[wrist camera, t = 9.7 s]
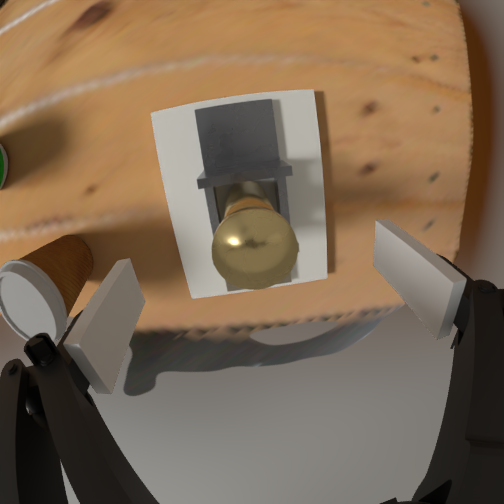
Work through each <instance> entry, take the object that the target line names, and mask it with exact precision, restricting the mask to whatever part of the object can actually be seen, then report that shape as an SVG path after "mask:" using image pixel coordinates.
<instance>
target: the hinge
mask: <svg viewBox="0 0 504 504" xmlns="http://www.w3.org/2000/svg"><path fill="white" fill-rule="evenodd" d="M194 111H195V117H196V124H197V130H198V136H199V142H200V148H201V154H202V160H203V166H204V170H203V172H202V173H201V174H200V176H199V177H198V178H197V179H196V180H197V185H198V189H203V188H204V191H205V196H206V202H207V207H208V212H209V218H210V223H211V228H212V233H213V237H214V234H215V232H216V229H217V227H218V226H219V224H220V223H221V217H220V211H219V205H218V200H217V194H216V188H215V186H221V185H227V184H234V183H240V182H247V181H254V180H261V179H268V178H274V186H275V194H276V203H277V212H278V213H279V214H280V215H281V216H283V217H284V218H285V219H286V220H287V221H288V223H289V224H290V214H289V204H288V194H287V185H286V176H293V173H292V165H290V164H288V163H286V162H285V161H283V160H281V159H280V158H279V150H278V142H277V134H276V127H275V119H274V112H273V105H272V99H263V100H254V101H246V102H238V103H231V104H224V105H218V106H212V107H207V108H201V109H196V110H194ZM290 226H291V225H290ZM297 242H298V241H297ZM298 252H299V243H298ZM213 265H214V263H213ZM225 282H226V287H227V291H228V292H229V291H236V290H243V288H239V287H237V286H234V285H232V284H230V283H229V282H227V281H226V280H225ZM288 282H292V279H291V272H290V273H289V274H288V275H287V276H286V277H285V278H284V279H283V280H282V281H280V282H279V283H277V284H282V283H288ZM275 285H276V284H275Z"/></svg>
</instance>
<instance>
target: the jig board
mask: <svg viewBox="0 0 504 504" xmlns="http://www.w3.org/2000/svg"><path fill="white" fill-rule="evenodd" d="M263 99H272V105H273V112H274V119H275V127H276V134H277V142H278V150H279V158H280V159H281V160H283V161H285V162H286V163H288V164H290V165H292V173H293V176H286V185H287V194H288V204H289V214H290V225H291V227H292V229H293V231H294V233H295V235H296V238H297V241H298V243H299V252H298V256H297V260H296V263H295V265H294V267H293V269H292V270H291V279H292V282H288V283H282V284H276V285H273V286H271V287H268V288H272V287H278V286H284V285H290V284H296V283H302V282H308V281H314V280H320V279H325V278H327V239H326V215H325V197H324V182H323V169H322V158H321V147H320V137H319V128H318V120H317V111H316V104H315V96H314V89H310V90H289V91H275V92H264V93H255V94H246V95H238V96H231V97H224V98H218V99H212V100H206V101H201V102H196V103H191V104H186V105H181V106H177V107H172V108H168V109H164V110H160V111H156V112H152V113H151V118H152V124H153V131H154V136H155V142H156V148H157V153H158V159H159V164H160V169H161V174H162V179H163V184H164V189H165V194H166V198H167V203H168V207H169V212H170V216H171V221H172V225H173V229H174V233H175V237H176V241H177V245H178V249H179V253H180V257H181V261H182V265H183V269H184V272H185V276H186V280H187V283H188V287H189V290H190V294H191V297H192V299H195V298H202V297H210V296H217V295H224V294H231V293H238V292H245V291H252V290H248V289H243V290H236V291H229V292H228V291H227V287H226V282H225V279H224V278H223V277H222V276H221V275H220V274H219V273H218V271H217V270H216V268H215V266H214V265H213V260H212V242H213V233H212V228H211V223H210V218H209V212H208V207H207V202H206V196H205V191H204V188H203V189H198V185H197V180H196V179H197V178H198V177H199V176H200V174H201V173H202V172H203V170H204V166H203V160H202V154H201V148H200V142H199V136H198V130H197V124H196V117H195V111H194V110H196V109H201V108H207V107H212V106H218V105H224V104H231V103H238V102H246V101H254V100H263ZM253 182H256V183H258V184H259V185H260V186H261V187H262V188H263V189H264V191H265V193H266V195H267V197H268V199H269V201H270V203H271V205H272V207H273V209H274V211H275V212H277V203H276V194H275V186H274V178H268V179H261V180H254V181H253ZM235 184H236V183H234V184H227V185H221V186H215V188H216V194H217V200H218V205H219V211H220V217H221V222H222V221H223V219H224V216H225V208H226V201H227V195H228V192H229V190H230V189H231V188H232V186H234V185H235ZM277 213H278V212H277Z"/></svg>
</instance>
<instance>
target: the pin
mask: <svg viewBox="0 0 504 504" xmlns="http://www.w3.org/2000/svg"><path fill="white" fill-rule="evenodd" d="M297 256H298V242H297V238H296V235H295V233H294V231H293V229H292V227H291V226H290V224H289V223H288V221H287V220H286V219H285V218H284V217H283V216H281V215H280V214H279V213H277V212H275V211H274V209H273V207H272V205H271V203H270V201H269V199H268V197H267V195H266V193H265V191H264V189H263V188H262V187H261V186H260V185H259V184H258V183H256V182H253V181H247V182H240V183H236V184H235V185H234V186H232V188H231V189H230V190H229V192H228V195H227V201H226V208H225V216H224V219H223V221H222V222H221V223H220V224H219V226H218V227H217V229H216V232H215V234H214V237H213V242H212V260H213V263H214V266H215V268H216V270H217V271H218V273H219V274H220V275H221V276H222V277H223V278H224V279H225V280H226V281H227V282H229V283H230V284H232V285H234V286H237V287H239V288H243V289H248V290H259V289H265V288H268V287H271V286H273V285H275V284H277V283H279V282H280V281H282V280H283V279H284V278H285V277H286V276H287V275H288V274H289V273H290V272H291V270H292V269H293V267H294V265H295V263H296V260H297Z"/></svg>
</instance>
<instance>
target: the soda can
mask: <svg viewBox="0 0 504 504" xmlns="http://www.w3.org/2000/svg"><path fill="white" fill-rule="evenodd" d="M7 172H8V158H7V154H6V152H5V150H4V148H3V146H2V145H1V144H0V189H1V188H2V187H3V184H4V182H5V179H6V176H7Z"/></svg>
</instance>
